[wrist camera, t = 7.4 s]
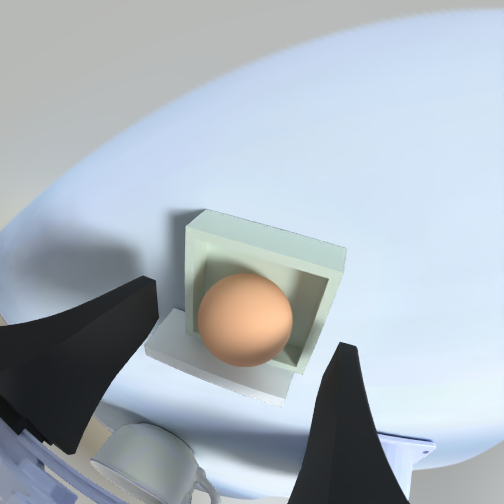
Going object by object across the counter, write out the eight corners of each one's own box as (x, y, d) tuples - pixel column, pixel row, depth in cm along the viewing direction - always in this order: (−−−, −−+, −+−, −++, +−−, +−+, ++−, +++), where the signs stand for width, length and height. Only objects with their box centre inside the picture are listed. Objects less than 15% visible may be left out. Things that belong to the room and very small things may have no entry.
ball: (288, 333, 14) (269, 396, 11) (214, 309, 14) (181, 365, 11) (310, 271, 12) (293, 336, 9) (222, 244, 12) (182, 298, 10)
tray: (309, 348, 15) (302, 374, 13) (200, 312, 16) (185, 333, 14) (346, 248, 11) (343, 272, 10) (206, 209, 13) (185, 226, 11)
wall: (296, 360, 15) (281, 407, 13) (174, 318, 17) (146, 354, 14) (300, 351, 15) (285, 399, 12) (174, 307, 16) (144, 344, 14)
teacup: (133, 434, 32) (103, 479, 26) (115, 394, 27) (72, 451, 20) (234, 479, 30) (209, 532, 23) (244, 453, 24) (211, 525, 17)
